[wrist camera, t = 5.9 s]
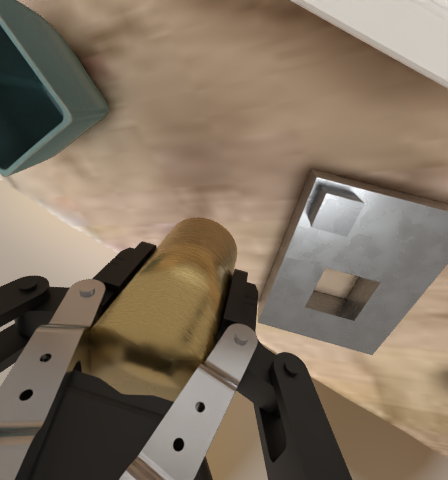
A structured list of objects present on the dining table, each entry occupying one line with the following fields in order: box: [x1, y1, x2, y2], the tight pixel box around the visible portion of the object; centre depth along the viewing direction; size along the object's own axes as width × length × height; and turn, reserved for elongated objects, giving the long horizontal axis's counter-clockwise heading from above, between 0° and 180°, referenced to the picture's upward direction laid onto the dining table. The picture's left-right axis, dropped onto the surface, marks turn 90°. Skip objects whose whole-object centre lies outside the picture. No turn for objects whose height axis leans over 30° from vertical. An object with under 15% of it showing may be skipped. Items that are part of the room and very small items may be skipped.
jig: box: [258, 169, 448, 355], centre depth 25 cm, size 18×14×6 cm
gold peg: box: [88, 218, 237, 402], centre depth 12 cm, size 4×4×8 cm
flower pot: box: [0, 0, 108, 177], centre depth 20 cm, size 9×9×9 cm
